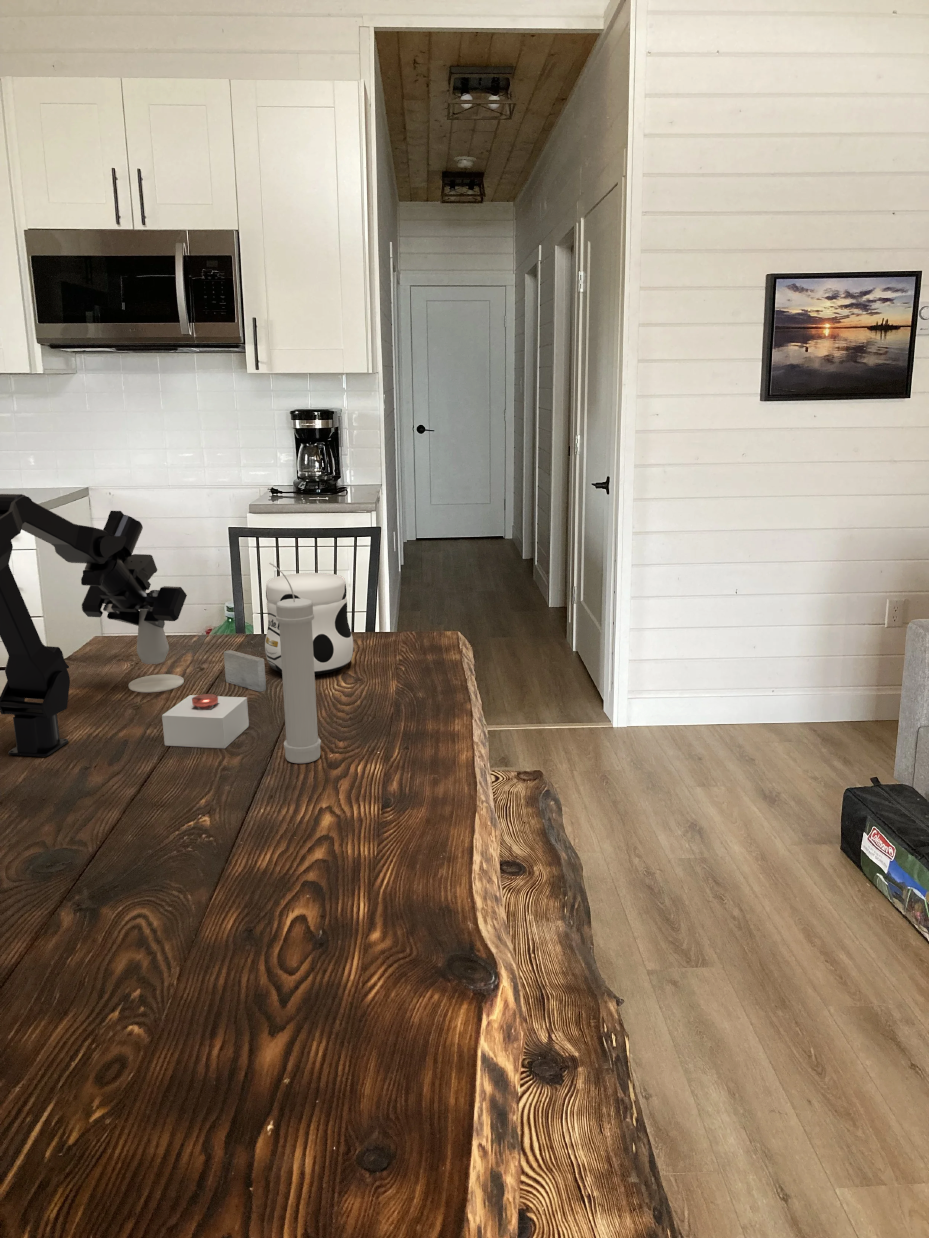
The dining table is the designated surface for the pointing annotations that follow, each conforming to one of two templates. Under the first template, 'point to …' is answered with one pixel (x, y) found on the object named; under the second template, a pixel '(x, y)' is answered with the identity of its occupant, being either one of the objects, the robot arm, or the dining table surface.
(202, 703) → the plunger
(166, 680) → the coaster
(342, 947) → the dining table surface
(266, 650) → the milk container
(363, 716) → the dining table surface
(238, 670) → the flat rectangular plate
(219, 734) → the button block
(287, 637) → the grey cylinder
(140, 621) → the salt shaker
